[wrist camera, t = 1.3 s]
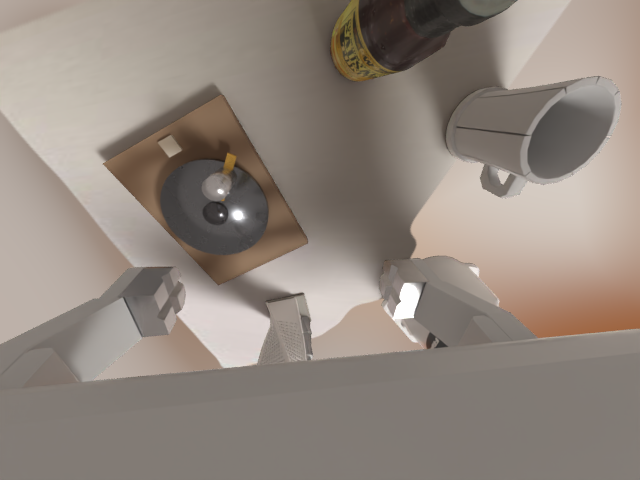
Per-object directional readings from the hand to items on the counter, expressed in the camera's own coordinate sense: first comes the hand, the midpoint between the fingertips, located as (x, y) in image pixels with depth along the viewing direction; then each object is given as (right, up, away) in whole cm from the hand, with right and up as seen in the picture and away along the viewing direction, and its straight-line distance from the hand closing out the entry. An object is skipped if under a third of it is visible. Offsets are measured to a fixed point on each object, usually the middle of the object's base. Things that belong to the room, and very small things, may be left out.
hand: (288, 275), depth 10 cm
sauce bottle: (+5, +22, +16) cm, 28 cm away
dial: (-12, +6, +21) cm, 25 cm away
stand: (-12, +6, +23) cm, 27 cm away
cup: (+23, +16, +22) cm, 36 cm away
